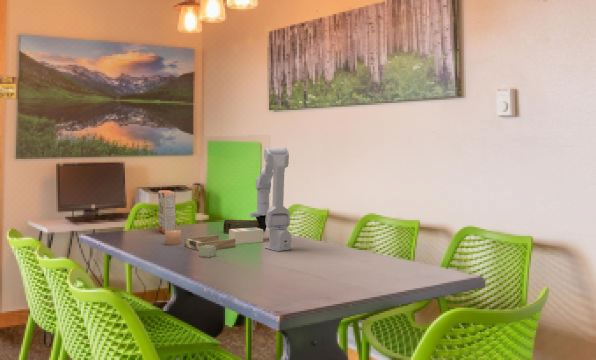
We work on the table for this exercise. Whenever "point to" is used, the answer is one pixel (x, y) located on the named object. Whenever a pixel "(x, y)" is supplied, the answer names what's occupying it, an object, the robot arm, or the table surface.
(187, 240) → the display bay
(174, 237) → the block
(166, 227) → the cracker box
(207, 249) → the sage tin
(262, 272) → the table surface
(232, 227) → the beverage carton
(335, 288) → the table surface
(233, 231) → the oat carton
